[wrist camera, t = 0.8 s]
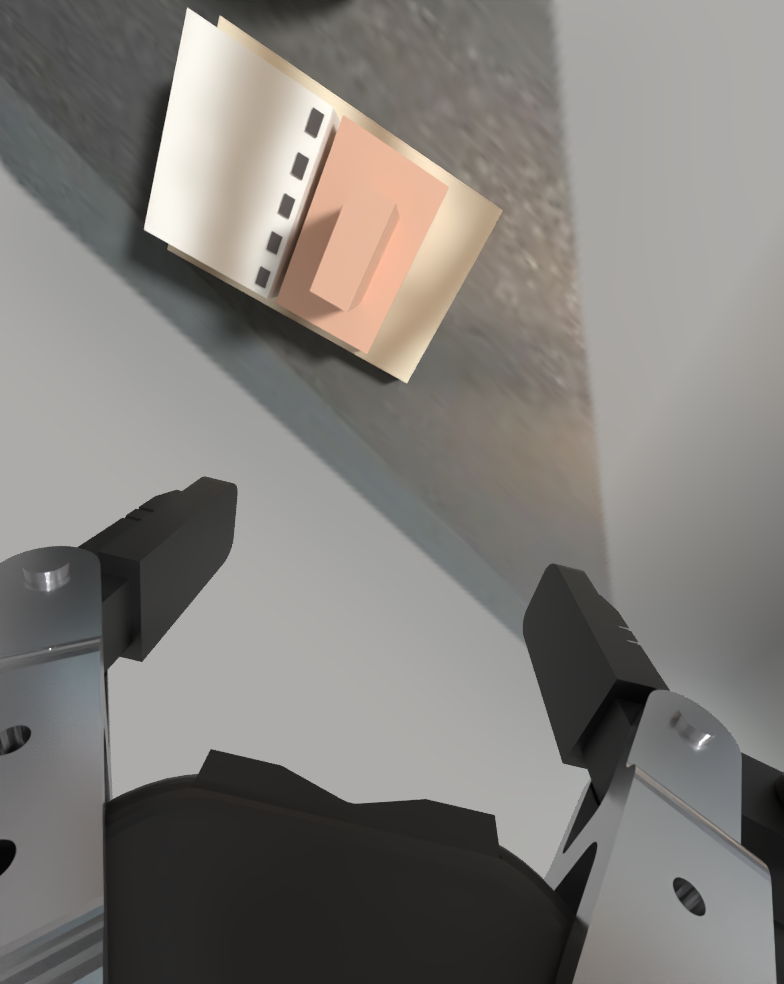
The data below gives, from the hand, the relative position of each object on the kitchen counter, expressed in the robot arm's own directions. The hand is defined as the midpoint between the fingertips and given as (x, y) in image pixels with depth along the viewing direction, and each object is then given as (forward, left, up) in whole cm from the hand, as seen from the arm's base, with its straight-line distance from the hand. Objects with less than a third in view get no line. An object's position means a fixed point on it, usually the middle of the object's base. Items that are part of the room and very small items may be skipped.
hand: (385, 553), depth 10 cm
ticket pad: (-8, +5, -24) cm, 26 cm away
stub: (-6, +5, -22) cm, 23 cm away
